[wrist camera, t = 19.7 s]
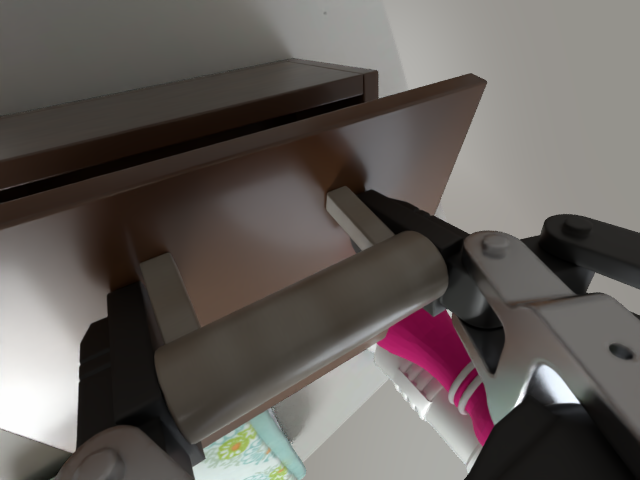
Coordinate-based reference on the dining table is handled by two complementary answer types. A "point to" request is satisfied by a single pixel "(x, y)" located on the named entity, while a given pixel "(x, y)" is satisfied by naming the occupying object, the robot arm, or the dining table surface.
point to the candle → (430, 403)
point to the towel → (251, 454)
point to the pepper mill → (442, 363)
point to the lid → (231, 261)
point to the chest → (167, 121)
